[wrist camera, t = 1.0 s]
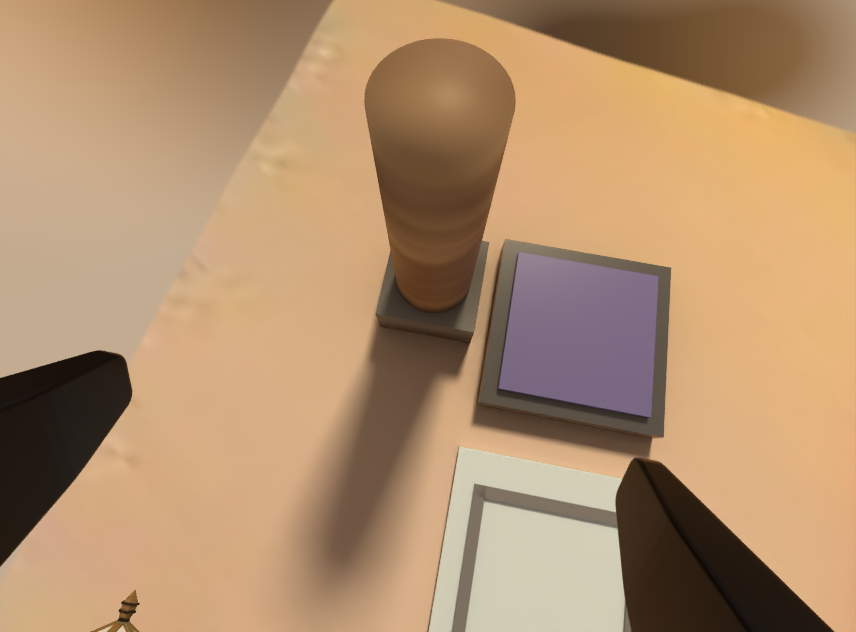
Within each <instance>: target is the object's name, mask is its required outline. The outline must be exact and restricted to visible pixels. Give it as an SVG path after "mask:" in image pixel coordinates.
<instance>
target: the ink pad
mask: <svg viewBox="0 0 856 632" xmlns="http://www.w3.org/2000/svg"><path fill="white" fill-rule="evenodd" d="M670 279H671V268H669V267H663V266H658V265H652V264H646V263H640V262H635V261H629V260H623V259H617V258H612V257H606V256H600V255H594V254H589V253H583V252H577V251H571V250H566V249H560V248H554V247H548V246H543V245H537V244H531V243H525V242H519V241H514V240H508V239H505V241H504V244H503V247H502V252H501V258H500V265H499V271H498V277H497V284H496V290H495V296H494V302H493V309H492V315H491V321H490V327H489V334H488V340H487V346H486V352H485V359H484V365H483V371H482V378H481V384H480V390H479V396H478V403H477V404H479V405H484V406H489V407H494V408H499V409H504V410H510V411H515V412H520V413H525V414H530V415H535V416H541V417H546V418H551V419H556V420H561V421H566V422H572V423H577V424H582V425H587V426H592V427H597V428H603V429H608V430H613V431H618V432H623V433H628V434H634V435H639V436H644V437H649V438H662V437H664V414H665V392H666V369H667V347H668V324H669V302H670Z"/></svg>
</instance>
